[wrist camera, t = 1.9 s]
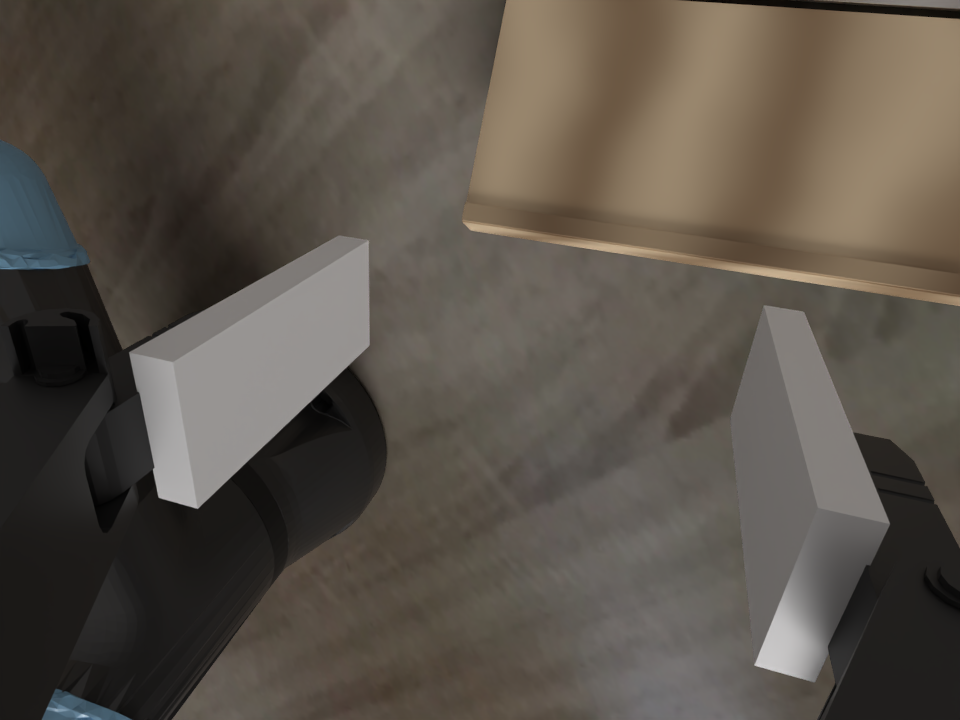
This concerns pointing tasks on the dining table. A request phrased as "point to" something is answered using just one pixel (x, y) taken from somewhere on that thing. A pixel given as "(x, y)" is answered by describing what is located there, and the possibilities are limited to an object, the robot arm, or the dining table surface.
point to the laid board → (900, 3)
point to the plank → (729, 139)
